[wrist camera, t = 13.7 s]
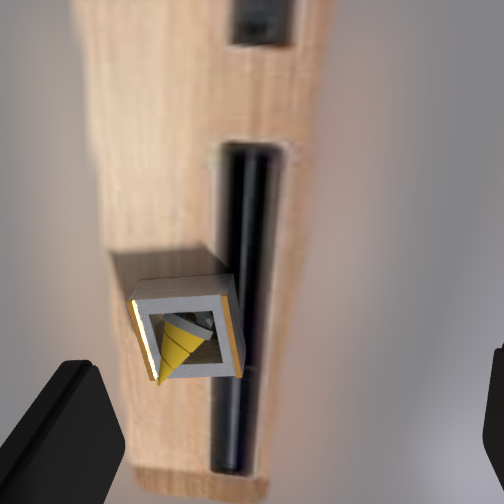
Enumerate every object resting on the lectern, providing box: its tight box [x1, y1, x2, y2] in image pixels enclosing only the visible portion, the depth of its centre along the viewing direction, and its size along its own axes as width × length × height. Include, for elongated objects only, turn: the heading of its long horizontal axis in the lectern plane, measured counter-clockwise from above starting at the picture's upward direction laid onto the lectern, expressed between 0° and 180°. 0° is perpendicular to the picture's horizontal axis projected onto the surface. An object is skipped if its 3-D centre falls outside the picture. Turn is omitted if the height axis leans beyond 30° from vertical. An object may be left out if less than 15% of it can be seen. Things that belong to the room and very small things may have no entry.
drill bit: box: [157, 311, 214, 385], centre depth 44 cm, size 5×5×10 cm
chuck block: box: [126, 273, 246, 381], centre depth 45 cm, size 10×10×4 cm
